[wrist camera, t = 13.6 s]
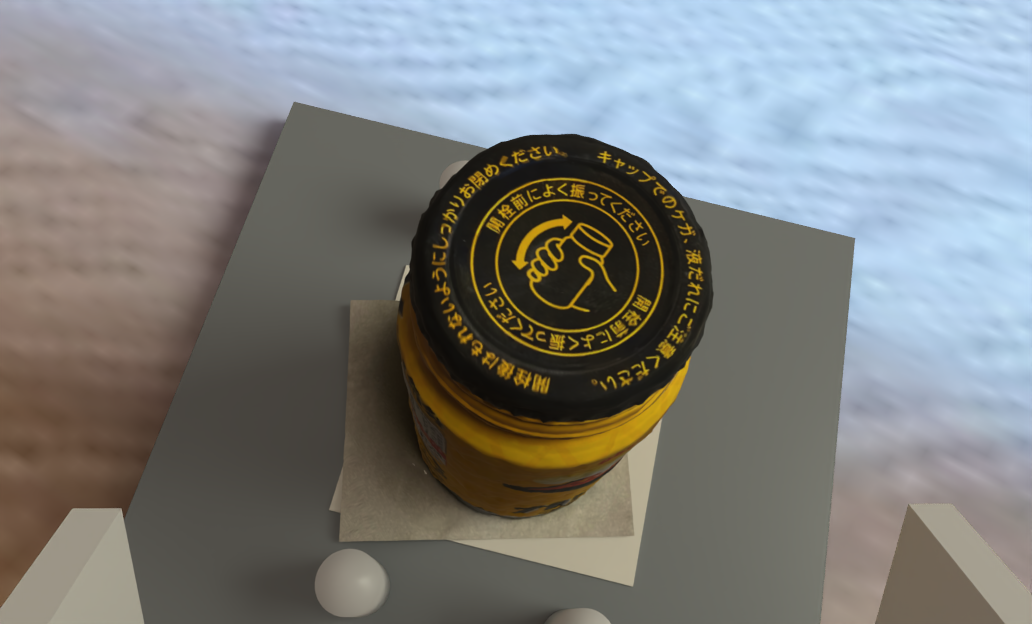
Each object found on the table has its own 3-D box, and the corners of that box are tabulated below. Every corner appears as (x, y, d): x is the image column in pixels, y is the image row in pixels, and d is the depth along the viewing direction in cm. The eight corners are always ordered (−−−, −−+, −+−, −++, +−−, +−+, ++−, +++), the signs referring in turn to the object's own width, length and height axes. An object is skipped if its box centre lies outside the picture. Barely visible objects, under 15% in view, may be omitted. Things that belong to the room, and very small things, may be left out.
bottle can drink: (633, 536, 24) (792, 462, 12) (339, 542, 23) (229, 470, 12) (616, 304, 26) (736, 70, 15) (351, 303, 26) (270, 58, 14)
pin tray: (839, 253, 29) (899, 195, 25) (784, 821, 22) (853, 865, 18) (300, 121, 29) (276, 44, 25) (92, 644, 23) (15, 649, 19)
